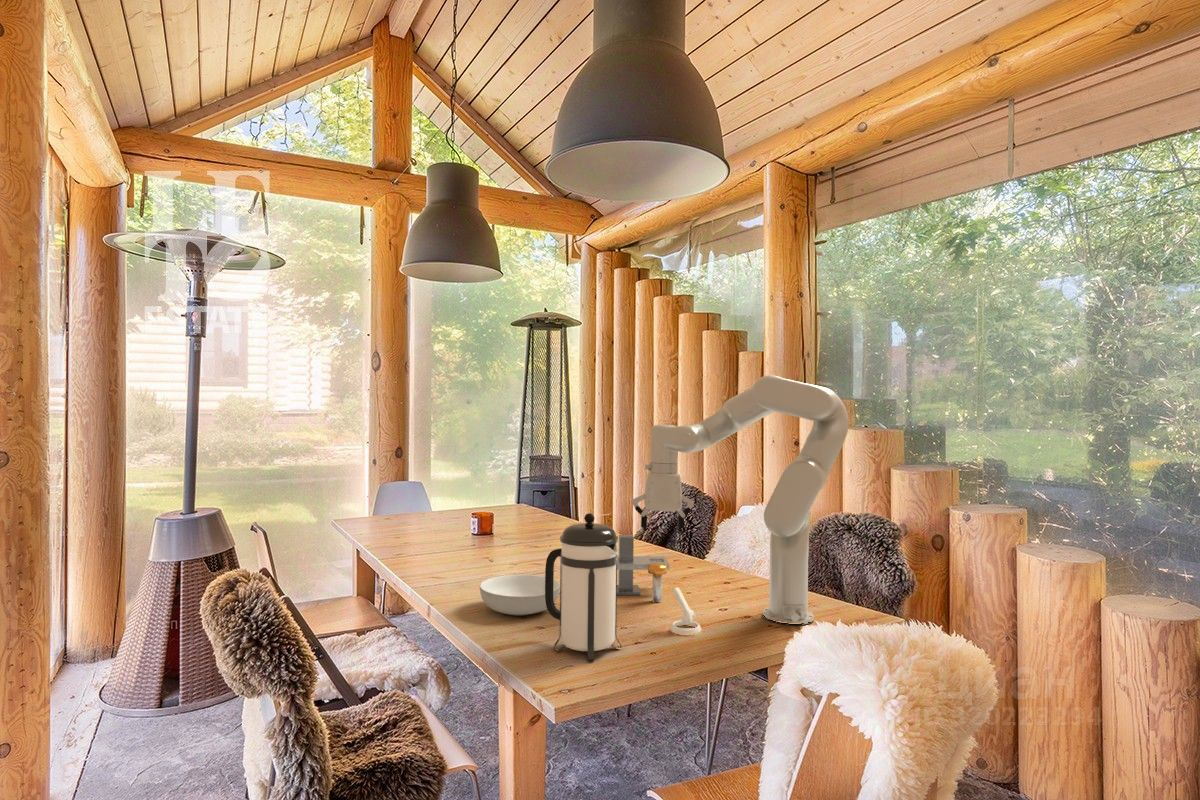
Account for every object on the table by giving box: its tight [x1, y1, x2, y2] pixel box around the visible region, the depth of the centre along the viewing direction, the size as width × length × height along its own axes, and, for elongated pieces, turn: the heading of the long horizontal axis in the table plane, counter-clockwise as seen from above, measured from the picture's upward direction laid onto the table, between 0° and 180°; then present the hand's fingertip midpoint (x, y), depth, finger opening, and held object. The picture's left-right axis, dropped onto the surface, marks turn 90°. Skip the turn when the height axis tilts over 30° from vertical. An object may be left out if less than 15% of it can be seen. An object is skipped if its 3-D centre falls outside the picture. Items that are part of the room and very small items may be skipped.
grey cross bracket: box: [617, 534, 670, 596], centre depth 196 cm, size 10×16×16 cm, turn 92°
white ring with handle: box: [669, 586, 702, 634], centre depth 164 cm, size 8×12×7 cm
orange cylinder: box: [647, 563, 668, 603], centre depth 186 cm, size 5×5×10 cm
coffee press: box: [544, 512, 623, 662], centre depth 150 cm, size 17×16×30 cm
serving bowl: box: [479, 574, 560, 616], centre depth 177 cm, size 21×21×7 cm
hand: (662, 530), depth 188 cm, fingers open, 9 cm apart
